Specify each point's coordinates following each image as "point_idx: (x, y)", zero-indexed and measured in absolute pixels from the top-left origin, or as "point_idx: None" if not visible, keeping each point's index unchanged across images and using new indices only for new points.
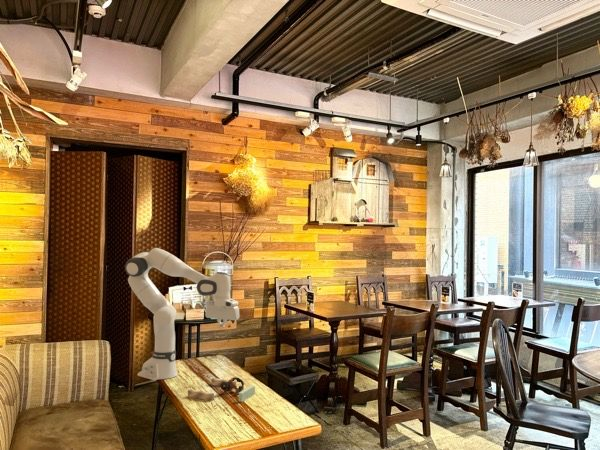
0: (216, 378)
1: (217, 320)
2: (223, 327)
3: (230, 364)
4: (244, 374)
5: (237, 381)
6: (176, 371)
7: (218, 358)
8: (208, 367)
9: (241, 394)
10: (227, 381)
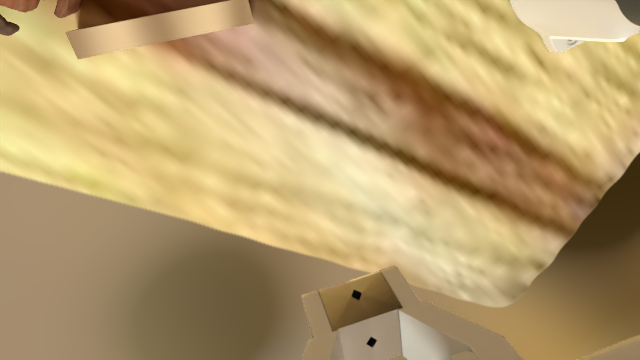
0: (229, 26)
1: (498, 344)
2: (305, 295)
3: None
4: (240, 230)
5: (8, 24)
6: (529, 2)
7: (487, 288)
8: (452, 190)
9: None
10: (120, 23)
